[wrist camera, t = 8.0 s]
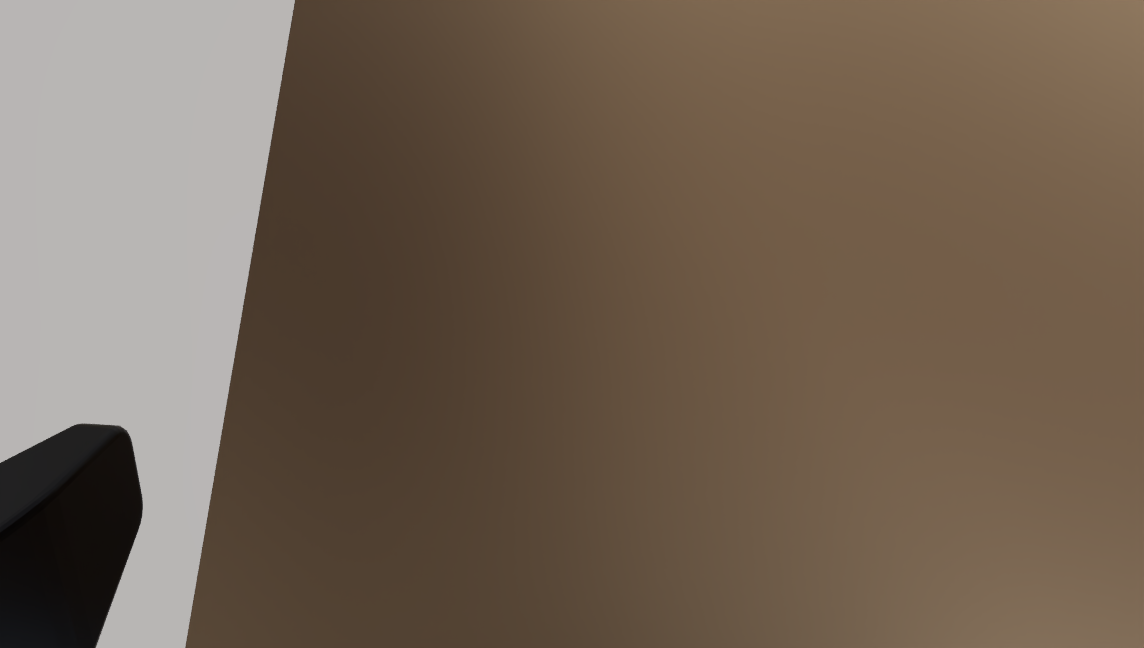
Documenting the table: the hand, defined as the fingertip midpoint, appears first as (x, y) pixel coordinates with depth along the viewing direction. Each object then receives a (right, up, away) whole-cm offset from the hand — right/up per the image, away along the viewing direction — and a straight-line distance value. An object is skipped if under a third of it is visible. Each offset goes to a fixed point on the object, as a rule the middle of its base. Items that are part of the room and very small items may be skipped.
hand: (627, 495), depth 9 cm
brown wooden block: (0, -2, +8) cm, 8 cm away
